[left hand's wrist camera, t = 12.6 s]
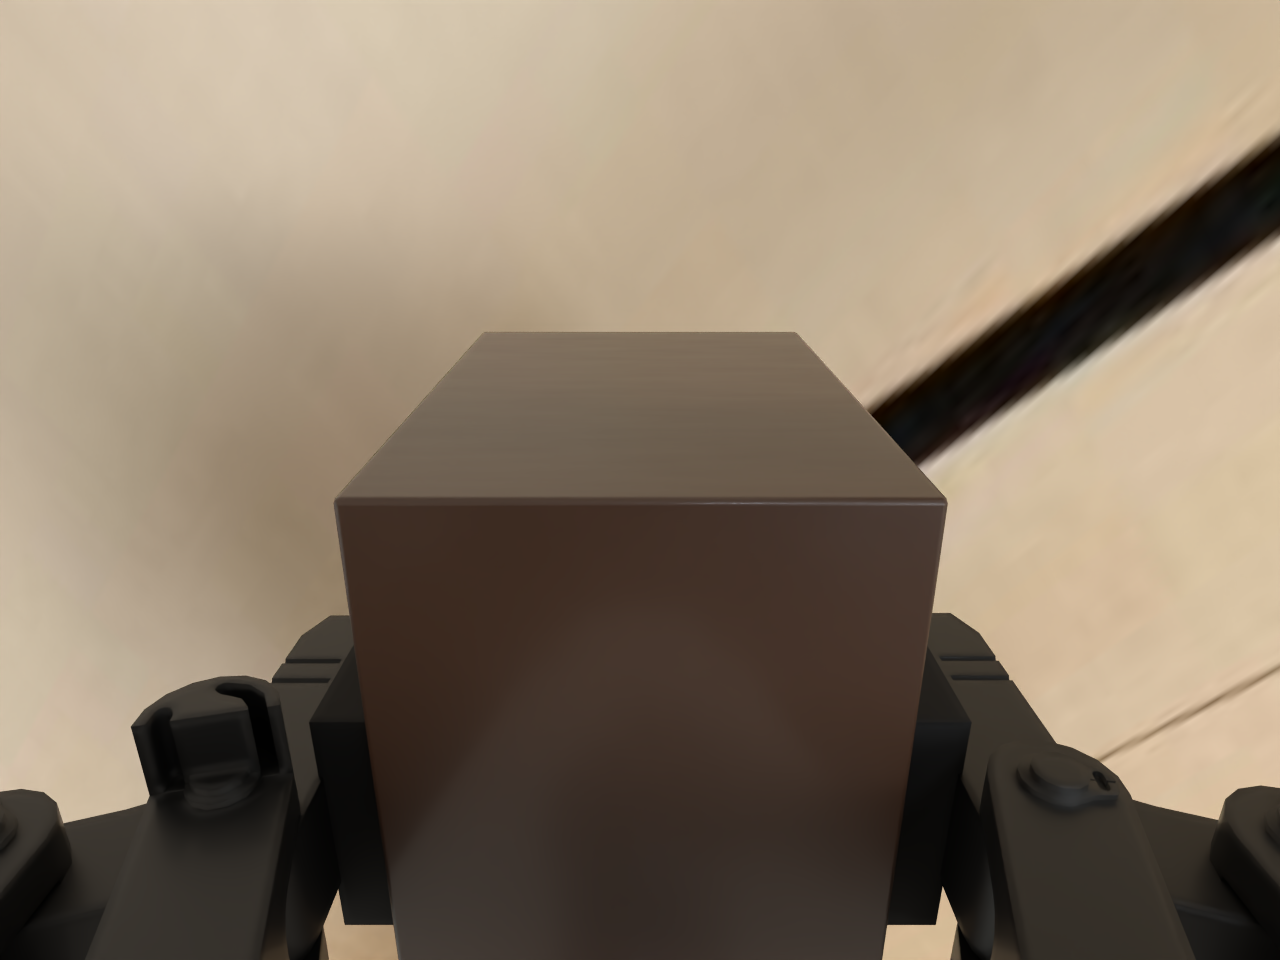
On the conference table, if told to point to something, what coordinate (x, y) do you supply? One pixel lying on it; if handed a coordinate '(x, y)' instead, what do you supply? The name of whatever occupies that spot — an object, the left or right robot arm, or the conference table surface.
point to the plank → (640, 651)
